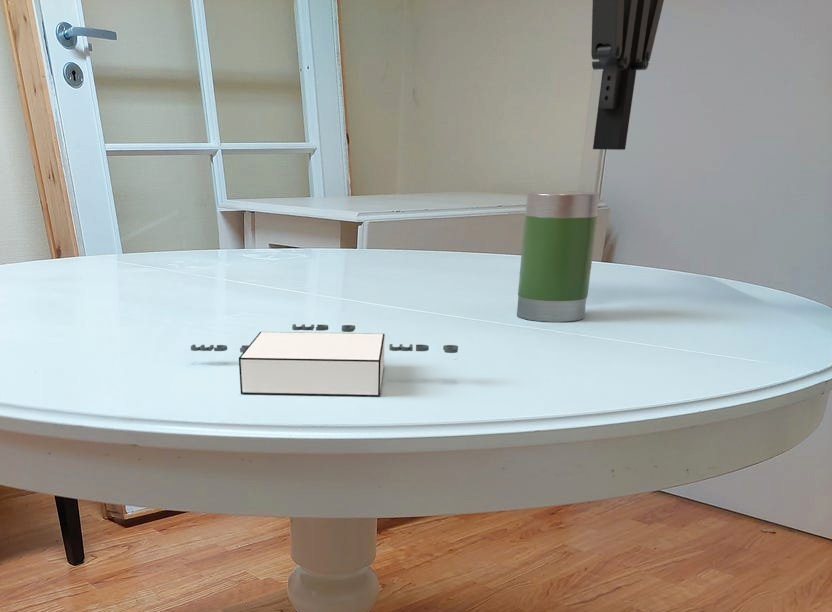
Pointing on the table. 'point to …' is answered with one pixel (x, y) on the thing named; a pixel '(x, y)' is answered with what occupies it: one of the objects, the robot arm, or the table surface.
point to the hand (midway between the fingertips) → (608, 149)
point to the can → (557, 255)
